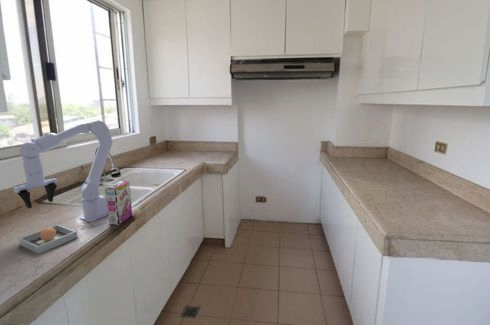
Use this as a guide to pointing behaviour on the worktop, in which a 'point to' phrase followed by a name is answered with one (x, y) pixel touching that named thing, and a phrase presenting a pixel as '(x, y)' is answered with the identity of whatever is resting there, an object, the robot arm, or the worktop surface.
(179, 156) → the worktop surface
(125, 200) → the candy bar box
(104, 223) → the worktop surface
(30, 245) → the grey shallow square tray
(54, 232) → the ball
